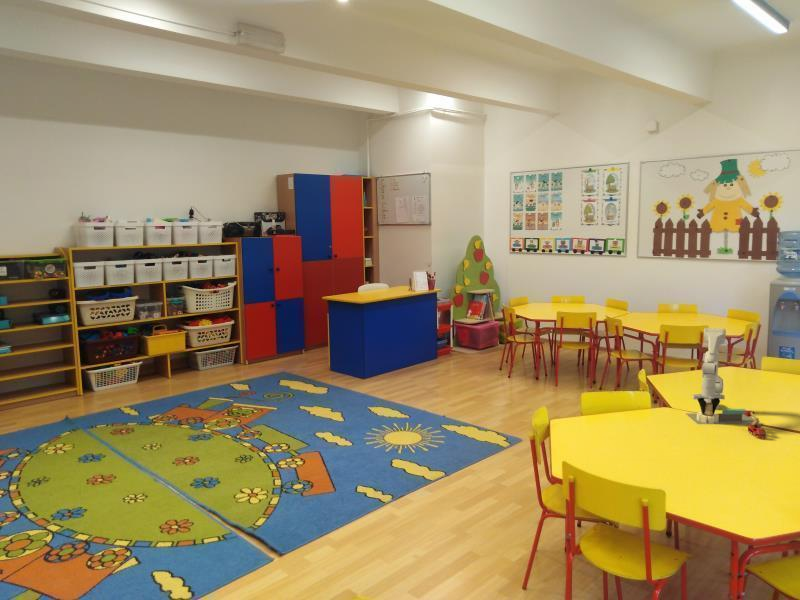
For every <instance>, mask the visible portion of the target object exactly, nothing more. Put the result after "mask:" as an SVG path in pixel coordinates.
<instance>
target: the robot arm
mask: <svg viewBox="0 0 800 600" xmlns="http://www.w3.org/2000/svg"><path fill="white" fill-rule="evenodd" d="M703 331H704V332H703V339H704V342H705V343H706V344H708V346H707V347H708V348H707V349H708V351H706V352H705V355H704V360H703V363H702V366H701V372H702V383H701V392H702V393H698V394H697V393H695V394H692V399H693V400H697V402H698V404H699V407H700V412H702V413H703V414H704V413H705V404H706V402H710V403H713V414H716V413H715V412H716V411H717V410H719V409H720V403H721V400H725V398H726V397H725V394H723V392H724V379H723V378H722V377H721V376H720V375H719V374H718V373H719V372H718V371H719V357H720V356H719V355H720V347H721V345H723V344H725V343H726V334H727V333H726V332H727V330H726V329H725V328H716V327H715V328H712V327H705V328H704V329H703Z"/></svg>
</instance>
